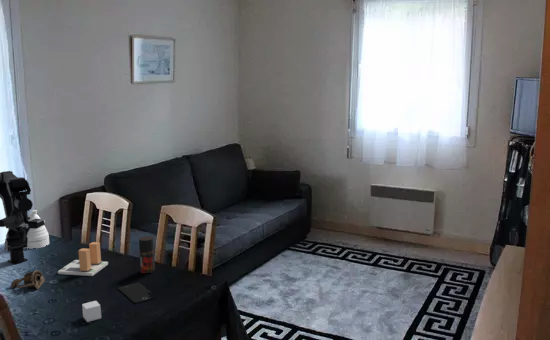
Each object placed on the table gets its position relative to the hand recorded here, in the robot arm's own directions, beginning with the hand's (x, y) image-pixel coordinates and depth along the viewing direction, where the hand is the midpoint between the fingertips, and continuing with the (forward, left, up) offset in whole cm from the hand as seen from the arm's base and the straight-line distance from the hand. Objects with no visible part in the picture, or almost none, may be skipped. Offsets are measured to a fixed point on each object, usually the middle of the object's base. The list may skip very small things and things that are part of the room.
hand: (23, 241), depth 236 cm
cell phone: (+60, +11, -14) cm, 62 cm away
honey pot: (-29, +22, -13) cm, 39 cm away
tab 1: (+25, +13, -11) cm, 30 cm away
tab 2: (+21, +21, -11) cm, 32 cm away
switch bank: (+20, +15, -13) cm, 28 cm away
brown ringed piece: (+18, -9, -13) cm, 24 cm away
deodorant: (+46, +29, -13) cm, 56 cm away
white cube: (+63, -12, -13) cm, 66 cm away
